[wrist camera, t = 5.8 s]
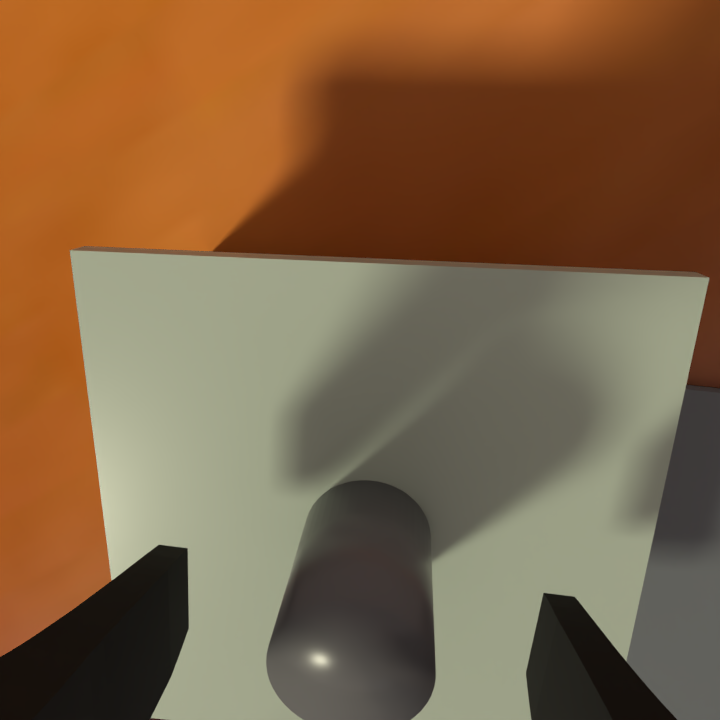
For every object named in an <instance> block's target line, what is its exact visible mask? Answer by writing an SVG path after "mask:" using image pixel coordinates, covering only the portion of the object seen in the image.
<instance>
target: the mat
mask: <svg viewBox="0 0 720 720" xmlns="http://www.w3.org/2000/svg"><path fill="white" fill-rule="evenodd" d="M626 662H627V663H628V664H629V665H630V667H631V668H632V669H633V670H634V671H635V672H636V674H637V675H638V676H639V677H640V678H641V680H642V681H643V682H644V683H645V684H646V685H647V687H648V688H649V689H650V690H651V691H652V692H653V693H654V695H655V696H656V697H657V698H658V699H659V700H660V701H661V703H662V704H663V705H664V706H665V707H666V708H667V709H668V710H669V711H670V712H671V713H672V714H673V715H674V717H675V718H676V719H677V720H720V388H712V387H703V386H693V385H686V388H685V393H684V398H683V402H682V407H681V411H680V416H679V421H678V425H677V430H676V435H675V439H674V444H673V448H672V453H671V458H670V462H669V467H668V471H667V476H666V481H665V485H664V490H663V495H662V499H661V504H660V508H659V513H658V518H657V522H656V527H655V532H654V536H653V541H652V545H651V550H650V555H649V559H648V564H647V568H646V573H645V578H644V582H643V587H642V592H641V596H640V601H639V605H638V610H637V615H636V619H635V624H634V629H633V633H632V638H631V642H630V647H629V652H628V656H627V661H626Z"/></svg>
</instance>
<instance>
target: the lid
mask: <svg viewBox="0 0 720 720" xmlns="http://www.w3.org/2000/svg"><path fill="white" fill-rule="evenodd" d="M70 255H71V263H72V271H73V279H74V286H75V294H76V302H77V310H78V318H79V326H80V334H81V342H82V350H83V358H84V365H85V373H86V381H87V389H88V397H89V405H90V413H91V421H92V429H93V437H94V445H95V452H96V460H97V468H98V476H99V484H100V492H101V500H102V508H103V516H104V524H105V532H106V539H107V547H108V555H109V563H110V571H111V579H112V580H113V579H115V578H116V577H117V576H119V575H120V574H121V573H122V572H124V571H125V570H126V569H128V568H129V567H130V566H131V565H133V564H134V563H135V562H137V561H138V560H139V559H140V558H142V557H143V556H144V555H146V554H147V553H148V552H150V551H151V550H152V549H154V548H155V547H156V546H158V545H166V546H174V547H182V548H188V604H189V629H188V632H187V635H186V638H185V641H184V643H183V646H182V649H181V652H180V655H179V657H178V660H177V663H176V665H175V668H174V671H173V673H172V676H171V678H170V680H169V682H168V684H167V686H166V688H165V690H164V692H163V694H162V696H161V698H160V700H159V702H158V704H157V706H156V708H155V710H154V712H153V714H152V716H151V718H155V719H165V720H531V713H530V706H529V697H528V688H527V679H526V670H527V665H528V661H529V656H530V652H531V647H532V643H533V638H534V634H535V629H536V625H537V620H538V616H539V611H540V607H541V602H542V597H543V593H549V594H557V595H565V596H573V597H575V598H576V599H577V600H578V601H579V602H580V604H581V605H582V606H583V608H584V609H585V610H586V611H587V613H588V614H589V615H590V616H591V618H592V619H593V620H594V622H595V623H596V624H597V625H598V627H599V628H600V629H601V630H602V632H603V633H604V634H605V636H606V637H607V638H608V639H609V641H610V642H611V643H612V644H613V646H614V647H615V648H616V649H617V651H618V652H619V653H620V654H621V656H622V657H623V658H624V659H625V660H626V661H627V656H628V652H629V647H630V642H631V638H632V633H633V629H634V624H635V619H636V615H637V610H638V605H639V601H640V596H641V592H642V587H643V582H644V578H645V573H646V568H647V564H648V559H649V555H650V550H651V545H652V541H653V536H654V532H655V527H656V522H657V518H658V513H659V508H660V504H661V499H662V495H663V490H664V485H665V481H666V476H667V471H668V467H669V462H670V458H671V453H672V448H673V444H674V439H675V435H676V430H677V425H678V421H679V416H680V411H681V407H682V402H683V398H684V393H685V388H686V384H687V379H688V374H689V370H690V365H691V361H692V356H693V351H694V347H695V342H696V338H697V333H698V328H699V324H700V319H701V314H702V310H703V305H704V301H705V296H706V291H707V287H708V282H709V277H707V276H704V275H702V274H700V273H697V272H683V271H660V270H636V269H613V268H589V267H565V266H542V265H518V264H494V263H471V262H447V261H424V260H400V259H376V258H353V257H329V256H305V255H282V254H258V253H234V252H211V251H187V250H164V249H140V248H116V247H93V246H83V247H80V248H76V249H73V250H70Z"/></svg>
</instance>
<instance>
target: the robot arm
mask: <svg viewBox="0 0 720 720" xmlns="http://www.w3.org/2000/svg"><path fill="white" fill-rule="evenodd" d="M188 629H189V604H188V548H182V547H174V546H166V545H158V546H156V547H155V548H154V549H152V550H151V551H150V552H148V553H147V554H146V555H144V556H143V557H142V558H140V559H139V560H138V561H137V562H135V563H134V564H133V565H131V566H130V567H129V568H128V569H126V570H125V571H124V572H122V573H121V574H120V575H119V576H117V577H116V578H115V579H113V580H112V581H111V582H109V583H108V584H107V585H106V586H104V587H103V588H102V589H100V590H99V591H98V592H96V593H95V594H94V595H92V596H91V597H89V598H88V599H87V600H85V601H84V602H83V603H81V604H80V605H79V606H77V607H76V608H75V609H73V610H72V611H70V612H69V613H67V614H66V615H65V616H63V617H62V618H60V619H59V620H57V621H56V622H54V623H53V624H51V625H50V626H48V627H47V628H46V629H44V630H43V631H41V632H40V633H38V634H37V635H35V636H34V637H32V638H31V639H29V640H28V641H26V642H24V643H23V644H21V645H20V646H18V647H16V648H15V649H13V650H12V651H10V652H8V653H7V654H5V655H3V656H2V657H0V720H150V718H151V716H152V714H153V712H154V710H155V708H156V706H157V704H158V702H159V700H160V698H161V696H162V694H163V692H164V690H165V688H166V686H167V684H168V682H169V680H170V678H171V676H172V673H173V671H174V668H175V665H176V663H177V660H178V657H179V655H180V652H181V649H182V646H183V643H184V641H185V638H186V635H187V632H188ZM526 679H527V688H528V697H529V706H530V713H531V720H677V719H676V718H675V717H674V715H673V714H672V713H671V712H670V711H669V710H668V709H667V708H666V707H665V706H664V705H663V704H662V703H661V701H660V700H659V699H658V698H657V697H656V696H655V695H654V693H653V692H652V691H651V690H650V689H649V688H648V687H647V685H646V684H645V683H644V682H643V681H642V680H641V678H640V677H639V676H638V675H637V674H636V672H635V671H634V670H633V669H632V668H631V667H630V665H629V664H628V663H627V662H626V660H625V659H624V658H623V657H622V656H621V654H620V653H619V652H618V651H617V649H616V648H615V647H614V646H613V644H612V643H611V642H610V641H609V639H608V638H607V637H606V636H605V634H604V633H603V632H602V630H601V629H600V628H599V627H598V625H597V624H596V623H595V622H594V620H593V619H592V618H591V616H590V615H589V614H588V613H587V611H586V610H585V609H584V608H583V606H582V605H581V604H580V602H579V601H578V600H577V599H576V598H575V597H573V596H565V595H557V594H549V593H543V597H542V602H541V607H540V611H539V616H538V620H537V625H536V629H535V634H534V638H533V643H532V647H531V652H530V656H529V661H528V665H527V670H526Z"/></svg>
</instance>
